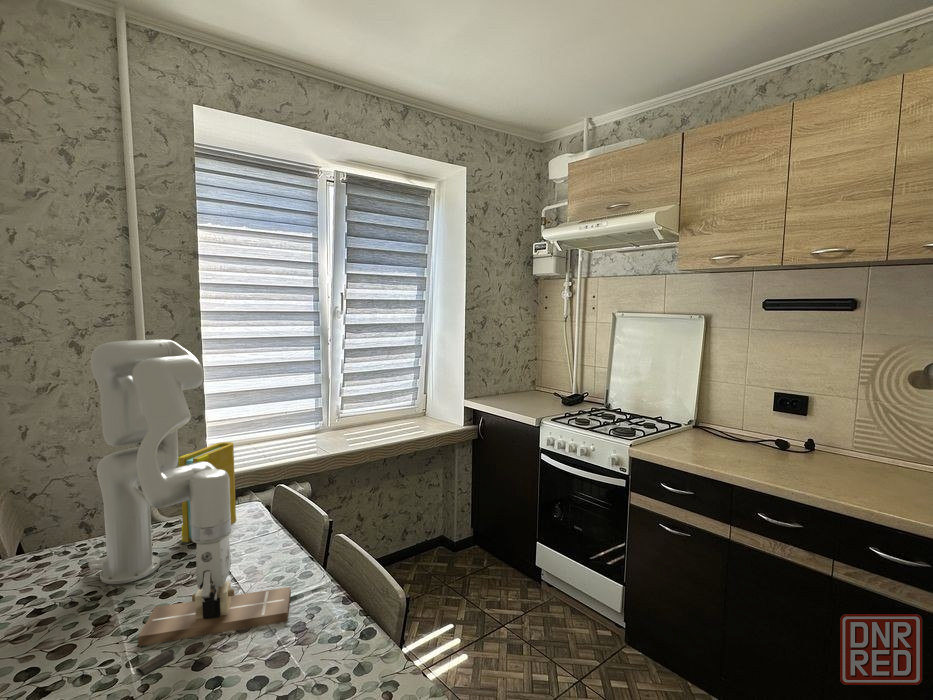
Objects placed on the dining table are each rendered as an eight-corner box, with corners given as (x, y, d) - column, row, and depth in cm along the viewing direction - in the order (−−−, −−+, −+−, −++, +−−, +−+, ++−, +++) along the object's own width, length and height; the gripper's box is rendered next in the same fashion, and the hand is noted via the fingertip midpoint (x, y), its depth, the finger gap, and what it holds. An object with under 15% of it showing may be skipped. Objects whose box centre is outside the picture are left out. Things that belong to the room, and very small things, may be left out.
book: (202, 544, 137) (198, 459, 135) (182, 541, 139) (178, 457, 136) (241, 519, 154) (238, 442, 152) (222, 517, 155) (220, 441, 153)
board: (138, 646, 96) (138, 636, 95) (155, 615, 105) (155, 606, 105) (287, 621, 103) (287, 612, 103) (290, 594, 113) (290, 586, 113)
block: (136, 676, 90) (134, 666, 89) (169, 654, 95) (167, 645, 95) (146, 681, 88) (144, 671, 88) (179, 658, 93) (177, 649, 93)
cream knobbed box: (190, 620, 100) (189, 597, 100) (196, 607, 105) (195, 585, 104) (232, 613, 103) (231, 591, 102) (236, 601, 107) (235, 580, 107)
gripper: (222, 545, 95) (225, 631, 97) (237, 510, 111) (240, 585, 113) (180, 550, 93) (184, 638, 95) (202, 514, 109) (205, 590, 111)
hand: (214, 608), depth 104 cm, fingers closed on cream knobbed box, 4 cm apart
